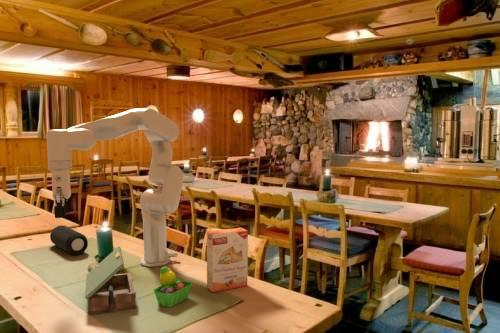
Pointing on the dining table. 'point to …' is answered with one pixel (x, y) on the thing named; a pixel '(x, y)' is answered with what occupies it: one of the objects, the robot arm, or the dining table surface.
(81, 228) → the dining table surface
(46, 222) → the dining table surface
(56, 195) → the robot arm
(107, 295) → the brown brick base
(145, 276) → the dining table surface
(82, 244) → the portable speaker
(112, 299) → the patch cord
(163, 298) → the green plastic basket
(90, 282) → the cover
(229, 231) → the cracker box
